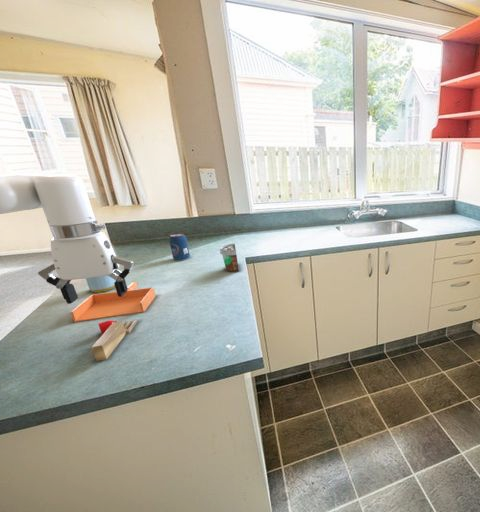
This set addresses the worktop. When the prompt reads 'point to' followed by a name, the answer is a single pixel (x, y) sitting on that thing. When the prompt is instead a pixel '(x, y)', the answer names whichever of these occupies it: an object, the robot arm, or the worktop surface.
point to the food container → (230, 257)
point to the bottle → (100, 284)
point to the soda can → (179, 247)
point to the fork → (111, 339)
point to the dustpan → (114, 304)
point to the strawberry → (105, 325)
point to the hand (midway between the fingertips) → (98, 297)
